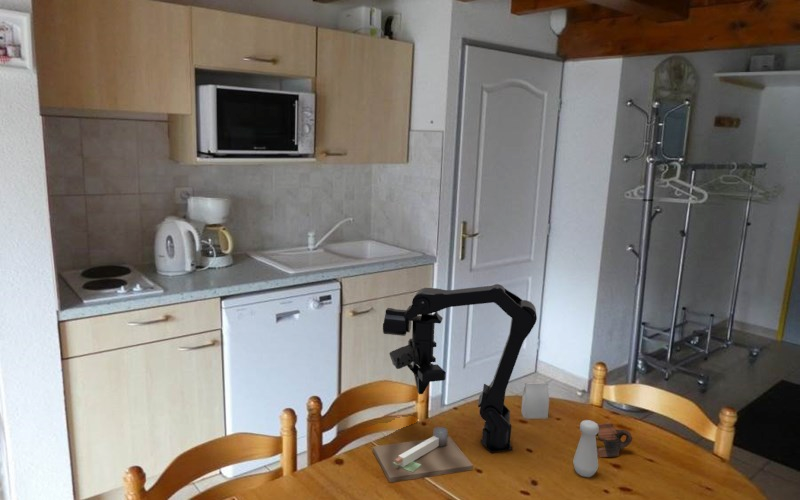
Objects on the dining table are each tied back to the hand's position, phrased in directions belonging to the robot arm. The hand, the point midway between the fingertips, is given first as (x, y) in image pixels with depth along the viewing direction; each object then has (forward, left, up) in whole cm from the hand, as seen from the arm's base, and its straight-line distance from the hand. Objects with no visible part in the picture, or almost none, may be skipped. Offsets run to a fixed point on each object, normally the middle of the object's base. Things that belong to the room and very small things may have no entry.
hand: (420, 393), depth 154 cm
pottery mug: (-46, +19, -12) cm, 51 cm away
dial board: (+3, +12, -12) cm, 17 cm away
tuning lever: (+3, +11, -11) cm, 16 cm away
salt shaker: (-33, +27, -12) cm, 44 cm away
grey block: (-37, -3, -12) cm, 39 cm away
